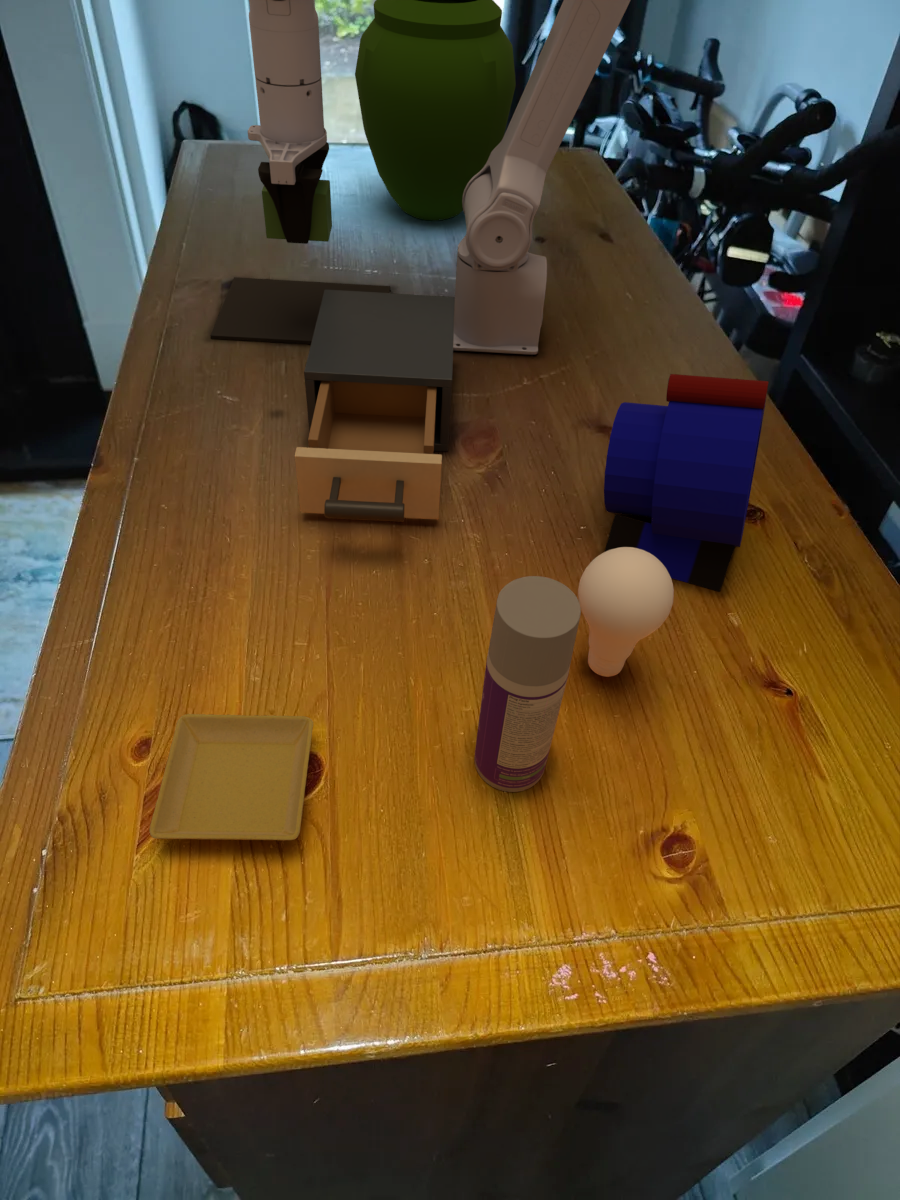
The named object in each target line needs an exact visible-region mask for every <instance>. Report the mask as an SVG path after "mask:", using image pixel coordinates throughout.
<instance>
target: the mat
mask: <svg viewBox="0 0 900 1200" xmlns="http://www.w3.org/2000/svg"><path fill="white" fill-rule="evenodd" d="M324 290H342V291H359V292H377V293H391V286H390V285H377V284H375V285H374V284H357V283H343V282H342V283H341V282H323V281H309V280H308V281H305V280H289V279H288V280H287V279H273V278H272V279H271V278H254V277H253V278H252V277H237V276H236V277H233V279H232V282H231V284H230V286H229V289H228V291H227V294H226V296H225V299H224V301H223V303H222V306H221V309H220V310H219V314H218V316H217V318H216V320H215V322H214V325H213V328H212V330H211V333H210V336H209V337H210V339H211V340H228V341H229V340H231V341H244V342H245V341H247V342H248V341H249V342H264V343H265V342H266V343H283V344H284V343H286V344H299V345H301V344H302V345H311V342H312V338H313V334H314V330H315V326H316V322H317V318H318V314H319V310H320V306H321V302H322V298H323V294H324Z"/></svg>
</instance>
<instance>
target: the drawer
mask: <svg viewBox="0 0 900 1200" xmlns="http://www.w3.org/2000/svg"><path fill="white" fill-rule="evenodd" d="M436 394H437V387H432V386H414V385H396V384H377V383H359V382H340V381H322V380H321V383H320V388H319V392H318V397H317V401H316V406H315V410H314V415H313V419H312V424H311V428H310V433H309V432H308V433H309V434H308V438H307V442H308V447H304V446H296V448H295V451H294V465H295V475H296V485H297V493H298V495H297V496H298V502H299V512H300V513H302V514H303V513H304V514H321V515H323V514H324V518H326V519H340V520H359V521H361V520H362V521H378V522H379V521H380V522H381V521H382V522H401V523H404V521H405V518H406V519H424V520H439V519H440V502H441V486H442V485H441V484H442V469H443V468H442V466H443V454H440V453H439V454H438V453H434V452H435V451H434V436H435V416H436Z"/></svg>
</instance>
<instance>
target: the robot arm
mask: <svg viewBox="0 0 900 1200" xmlns="http://www.w3.org/2000/svg"><path fill="white" fill-rule="evenodd" d="M630 2H631V0H563V1H562V3H561V6H560V8H559V9H558V12H557V15H556V17H555V19H554V21H553V24H552V26H551V28H550V31H549V33H548V34H547V37H546V39H545V42H544V44H543V47H542V49H541V51H540V53H539V55H538V58H537V60H536V62H535V65H534V67H533V69H532V71H531V74H530V76H529V78H528V81H527V83H526V85H525V87H524V90H523V91H522V94H521V96H520V98H519V101H518V103H517V106H516V108H515V110H514V112H513V114H512V117H511V119H510V120H509V123H508V126H507V127H506V129H505V134H504V137H503V139H502V141H501V142H500V143H499V144H498V145H497V146H496V147H495V148H494V149H493V151H492V152H491V154H490V156H489V158H488V161H487V163H486V164H485V166H484V167H483V168H482V170H481V171H480V172H478V173H477V174H476V175H475V176H474V177H472V179H471V180H470V181H469V182H468V184H467V185H466V187H465V190H464V193H463V198H462V205H463V211H462V212H463V215H464V218H465V229H466V230H465V231H466V232H465V235H464V236H463V238H462V239H461V240H460V241H459V243H458V245H457V254H456V268H455V270H456V271H455V289H454V297H455V305H454V339H453V351H461V352H478V353H494V354H495V353H497V354H512V355H513V354H514V355H515V354H516V355H531V356H533V355H537V354H539V342H540V334H541V327H542V325H543V320H544V319H543V318H544V307H545V298H546V291H547V290H546V289H547V279H548V261H547V256H545V255H541V254H540V255H539V254H536V253H531V252H530V247H531V245H532V240H533V222H534V219H535V217H536V214H537V212H538V209H539V208H540V206H541V201H542V197H543V192H544V186H545V182H546V181H545V180H546V176H547V173H548V170H549V168H550V166H551V164H552V163H553V160H554V158H555V156H556V154H557V152H558V150H559V148H560V146H561V144H562V142H563V140H564V138H565V135H566V133H567V131H568V130H569V127H570V125H571V123H572V121H573V120H574V117H575V116H576V113H577V111H578V109H579V107H580V105H581V104H582V103H581V102H582V101H583V99H584V98H585V97H584V96H585V95H586V93H587V90H588V89H589V87H590V85H591V82H592V80H593V78H594V77H595V74H596V71H597V70H598V68H599V66H600V64H601V62H602V60H603V57H604V55H605V54H606V52H607V49H608V48H609V45H610V43H611V42H612V39H613V37H614V35H615V34H616V31H617V29H618V27H619V26H620V23H621V21H622V19H623V16H624V14H625V13H626V11H627V9H628V7H629V4H630ZM248 3H249V12H248V22H249V23H248V24H249V32H250V43H251V50H252V51H251V52H252V61H253V71H254V78H255V89H256V98H257V109H258V116H259V124H253V125H249V127H248V129H247V138H248V139H247V140H249V141H253V142H259V143H260V144H261V146H262V149H263V150H264V152H265V154H266V157H267V158H268V161H260V163H259V166H258V168H257V173H258V177H259V180H260V182H261V183H262V185H263V187H264V186H265V188H266V189H267V191H268V193H269V194H270V196H271V198H272V200H273V203H274V205H275V208H276V210H277V213H278V217H279V220H280V223H281V227H282V230H283V233H284V236H285V238H286V239H285V241H286V243H287V244H303V245H304V244H305V245H306V244H309V237H310V231H311V221H312V207H313V200H314V194H315V190H316V187H317V185H318V182H319V180H321V177H322V173H323V170H324V169H323V166H324V164H325V162H326V158H328V154H329V151H330V144H329V142H328V132H327V129H326V128H325V120H324V119H325V117H324V104H323V103H324V102H323V101H324V100H323V99H324V98H323V97H324V96H323V80H322V79H323V77H322V63H321V62H322V61H321V47H320V46H321V43H320V27H319V26H320V25H319V15H318V11H317V10H316V1H315V0H248Z"/></svg>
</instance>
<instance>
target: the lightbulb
mask: <svg viewBox="0 0 900 1200" xmlns="http://www.w3.org/2000/svg"><path fill="white" fill-rule="evenodd" d="M672 579H673V578H671V577H670V575H669V573H668V571H667V569H666V568H665V566H664V565H663V564H662V563H661V562H660V561H659V560H658V559H657V558H656V557H655V556H654V555H652V554H650V553H649V552H646V551H644V550H641V549H638V548H633V547H619V548H615V549H611V550H608V551H606V552H602V553H600V554H598V555H597V556H596V557H594V558H593V559H592V560H591V561H590V563H588V565H587V566H586V568H584V571H583V572H582V575H581V576H580V579H579V583H578V589H577V599H578V601H579V603H580V607H581V614H582V615H583V618H584V620H585V622H586V623H587V625H588V628H589V629H588V630H589V633H588V647H589V648H588V654H587V655H588V657H587V664H588V666H589V668H590V669H591V670H592V672H594V673H595V674H597V675H598V676H601V677H609V678H610V677H615V676H617V675H618V674H619V673H621V671H622V670H623V668H624V665H625V664H626V661H627V659H628V658H629V657H630V656H631V655H632V653H633V651H634V649H635V646H636V645H637V643H638V642H639V641H640V640H643V639H645V638H646V637H648V636H650V635H652V634H653V633H654V632H656V631H657V630H659V629H660V627H662V625H663V624H664V623H665V621H666V620H667V619H668V617H669V616H670V614H671V610H672V607H673V605H674V598H675V597H674V595H675V594H674V593H675V589H674V584H673V580H672Z"/></svg>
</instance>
